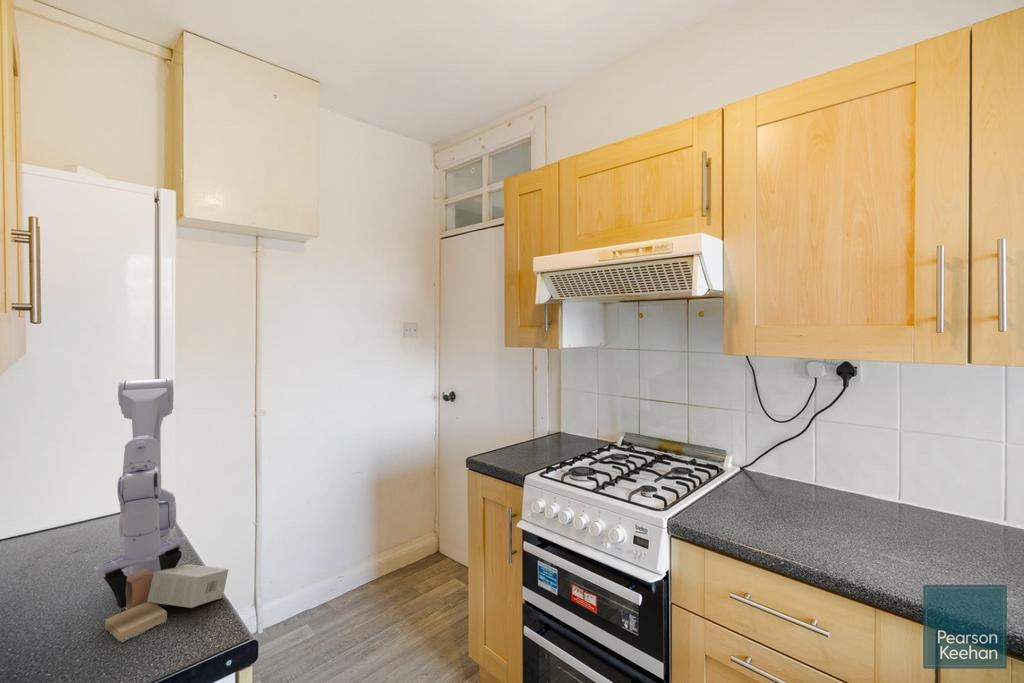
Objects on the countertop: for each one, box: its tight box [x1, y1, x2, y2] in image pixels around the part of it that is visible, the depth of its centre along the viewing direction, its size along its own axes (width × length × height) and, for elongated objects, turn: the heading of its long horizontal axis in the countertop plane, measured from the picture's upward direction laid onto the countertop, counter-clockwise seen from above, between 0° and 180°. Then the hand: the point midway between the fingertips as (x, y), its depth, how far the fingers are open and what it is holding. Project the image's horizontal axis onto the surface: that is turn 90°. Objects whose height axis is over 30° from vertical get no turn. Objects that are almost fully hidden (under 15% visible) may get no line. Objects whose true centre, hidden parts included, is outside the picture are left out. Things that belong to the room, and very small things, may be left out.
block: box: [125, 569, 154, 609], centre depth 92 cm, size 4×4×6 cm
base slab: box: [104, 602, 168, 641], centre depth 86 cm, size 7×7×2 cm
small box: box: [147, 563, 229, 609], centre depth 93 cm, size 8×6×10 cm
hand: (144, 596), depth 93 cm, fingers open, 7 cm apart
